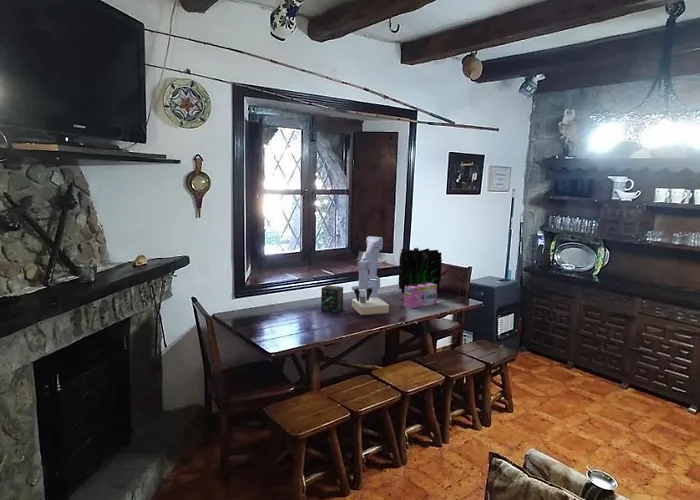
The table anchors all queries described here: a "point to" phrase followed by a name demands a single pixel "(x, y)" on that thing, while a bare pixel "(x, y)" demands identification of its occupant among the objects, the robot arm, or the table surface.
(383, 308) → the beige wooden tray
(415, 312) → the table surface
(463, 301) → the table surface
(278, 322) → the table surface
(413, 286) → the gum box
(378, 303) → the lid
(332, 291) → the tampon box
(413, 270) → the decorative plant
